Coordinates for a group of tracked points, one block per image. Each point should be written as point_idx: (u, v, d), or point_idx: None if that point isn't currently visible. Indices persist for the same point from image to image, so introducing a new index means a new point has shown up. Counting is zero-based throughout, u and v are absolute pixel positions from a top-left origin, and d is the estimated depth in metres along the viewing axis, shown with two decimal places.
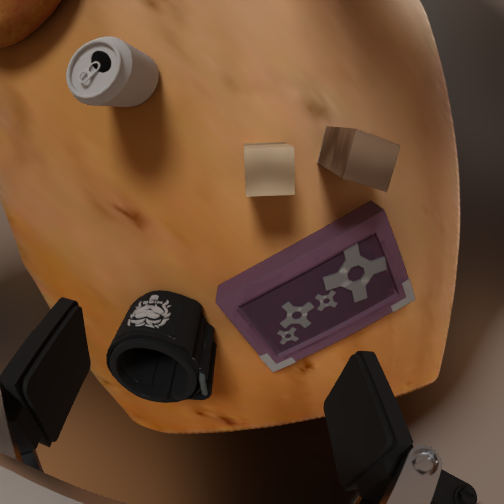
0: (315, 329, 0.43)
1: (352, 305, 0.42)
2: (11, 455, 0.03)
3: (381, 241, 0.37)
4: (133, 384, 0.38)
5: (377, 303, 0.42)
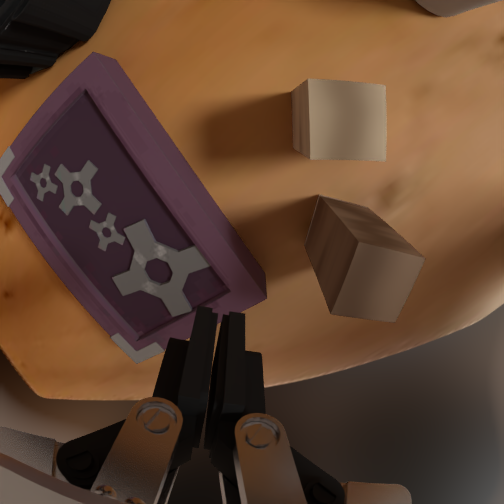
0: (59, 224, 0.23)
1: (106, 275, 0.25)
2: (152, 490, 0.04)
3: (217, 302, 0.26)
4: None
5: (117, 311, 0.27)
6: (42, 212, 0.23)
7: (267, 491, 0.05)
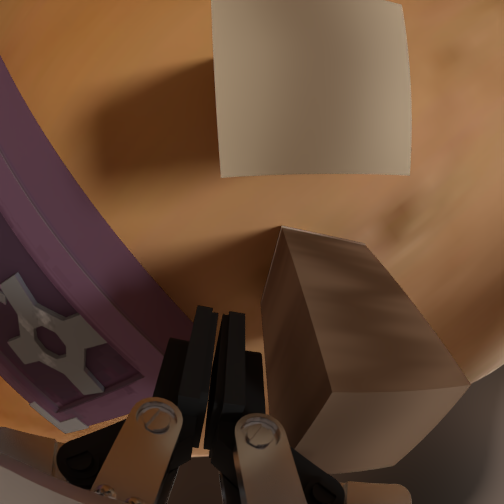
0: None
1: (3, 337, 0.15)
2: (152, 490, 0.04)
3: (130, 387, 0.15)
4: None
5: (27, 378, 0.16)
6: None
7: (267, 491, 0.05)
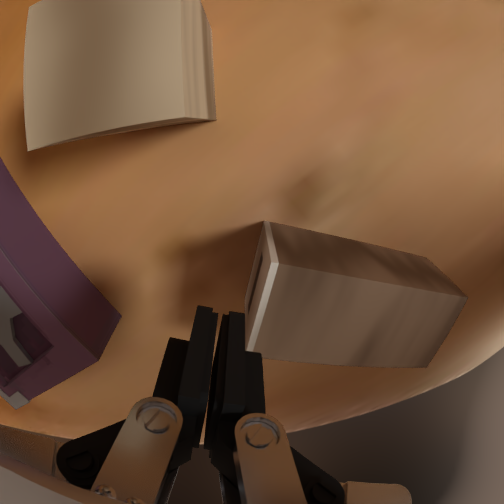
0: None
1: None
2: (152, 490, 0.04)
3: (47, 357, 0.15)
4: None
5: None
6: None
7: (267, 491, 0.05)
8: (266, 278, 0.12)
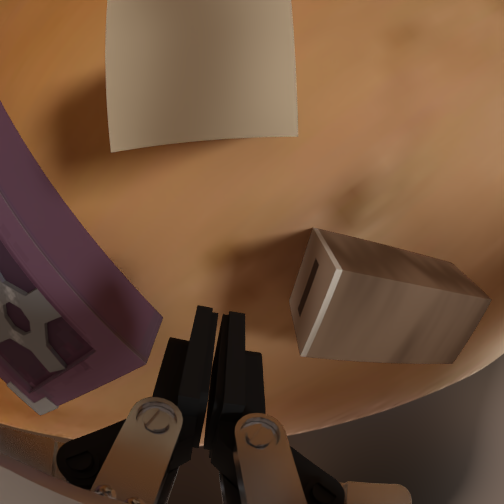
0: None
1: None
2: (152, 490, 0.04)
3: (86, 362, 0.15)
4: None
5: (3, 358, 0.17)
6: None
7: (267, 491, 0.04)
8: (329, 283, 0.13)
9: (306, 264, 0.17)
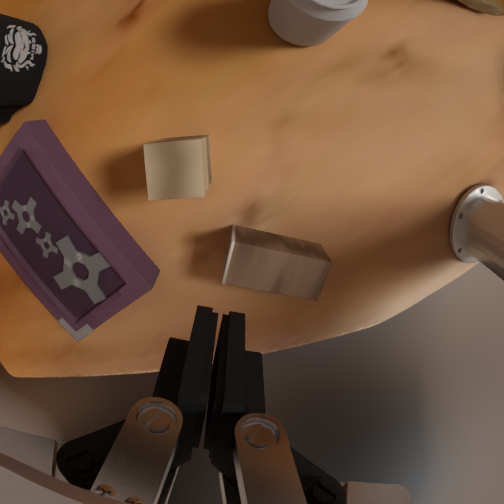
0: (18, 241, 0.30)
1: (50, 275, 0.32)
2: (152, 490, 0.04)
3: (119, 291, 0.33)
4: None
5: (60, 302, 0.34)
6: (7, 233, 0.29)
7: (267, 491, 0.05)
8: (230, 247, 0.31)
9: (229, 242, 0.35)
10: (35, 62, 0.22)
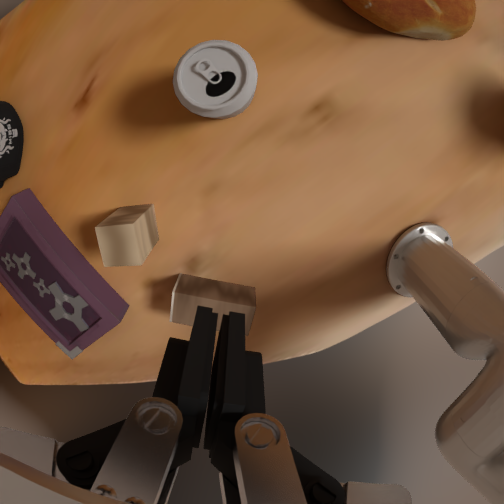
0: (20, 283, 0.38)
1: (46, 309, 0.40)
2: (152, 490, 0.04)
3: (97, 323, 0.41)
4: None
5: (56, 329, 0.42)
6: (10, 277, 0.38)
7: (267, 491, 0.04)
8: (172, 296, 0.38)
9: None
10: (14, 144, 0.30)
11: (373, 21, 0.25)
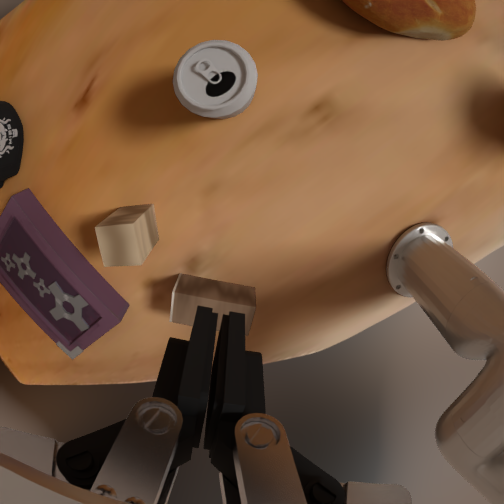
0: (20, 283, 0.38)
1: (46, 309, 0.40)
2: (152, 490, 0.04)
3: (98, 323, 0.41)
4: None
5: (56, 329, 0.42)
6: (11, 277, 0.38)
7: (267, 491, 0.05)
8: (172, 296, 0.38)
9: None
10: (14, 144, 0.30)
11: (373, 21, 0.25)
